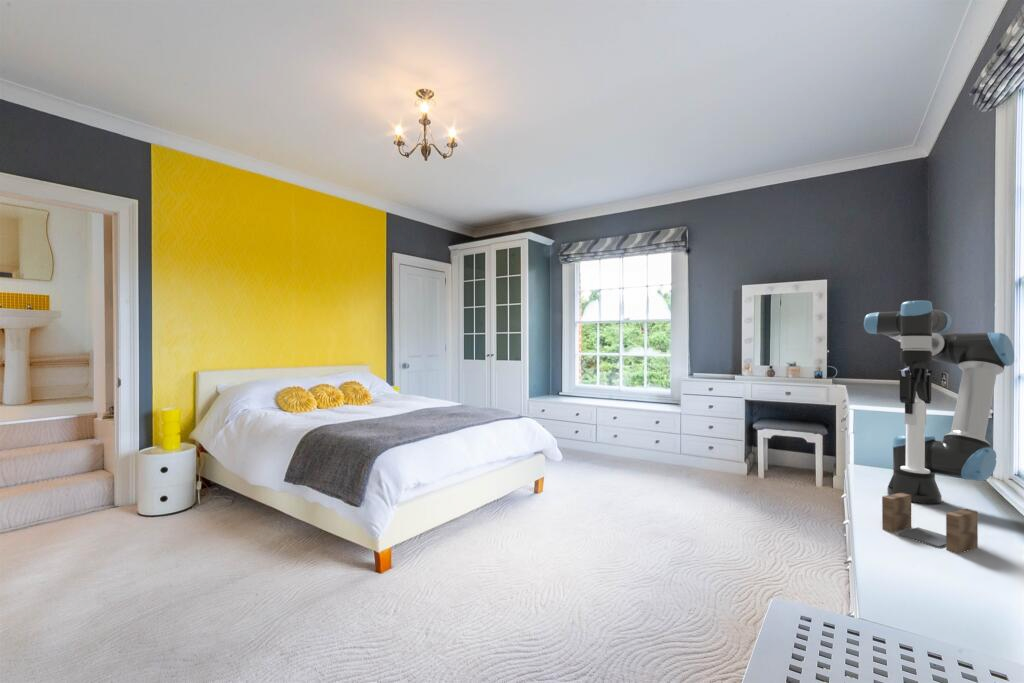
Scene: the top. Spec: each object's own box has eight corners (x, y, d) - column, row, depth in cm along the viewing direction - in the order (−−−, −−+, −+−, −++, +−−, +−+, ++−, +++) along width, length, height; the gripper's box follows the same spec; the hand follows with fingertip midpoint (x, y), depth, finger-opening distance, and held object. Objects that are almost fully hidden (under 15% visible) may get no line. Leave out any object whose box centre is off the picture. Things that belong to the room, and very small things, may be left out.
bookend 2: (966, 544, 130) (965, 508, 131) (977, 547, 128) (977, 511, 128) (946, 550, 127) (946, 513, 127) (958, 553, 124) (957, 516, 124)
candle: (935, 474, 141) (936, 392, 142) (908, 472, 143) (909, 391, 143) (921, 469, 148) (921, 390, 149) (895, 467, 150) (895, 389, 150)
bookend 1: (901, 524, 145) (901, 492, 145) (911, 527, 142) (911, 494, 143) (882, 529, 141) (882, 496, 141) (891, 532, 138) (891, 498, 139)
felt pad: (918, 528, 141) (918, 527, 141) (960, 541, 132) (960, 539, 132) (896, 534, 137) (896, 532, 137) (938, 547, 128) (938, 546, 128)
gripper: (918, 350, 153) (918, 421, 152) (885, 349, 146) (884, 423, 146) (946, 350, 146) (946, 425, 145) (912, 349, 139) (912, 427, 139)
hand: (915, 424), depth 146 cm, fingers closed on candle, 4 cm apart
